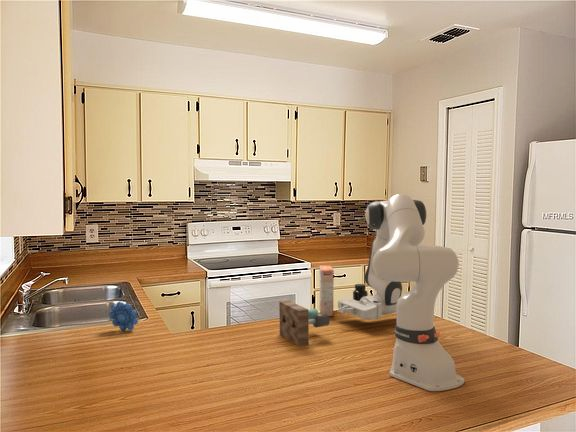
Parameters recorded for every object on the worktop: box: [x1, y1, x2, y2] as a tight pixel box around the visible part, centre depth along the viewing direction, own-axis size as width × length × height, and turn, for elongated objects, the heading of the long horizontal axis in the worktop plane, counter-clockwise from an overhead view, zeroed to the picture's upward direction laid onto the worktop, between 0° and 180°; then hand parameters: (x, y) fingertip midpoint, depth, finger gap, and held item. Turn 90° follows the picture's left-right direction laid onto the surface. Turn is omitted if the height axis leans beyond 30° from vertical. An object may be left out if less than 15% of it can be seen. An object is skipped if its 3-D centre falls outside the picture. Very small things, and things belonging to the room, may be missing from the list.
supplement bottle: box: [352, 283, 369, 301], centre depth 219 cm, size 7×7×12 cm
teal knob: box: [285, 308, 319, 320], centre depth 183 cm, size 5×13×5 cm, turn 117°
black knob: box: [295, 313, 330, 328], centre depth 176 cm, size 5×13×5 cm, turn 117°
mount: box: [278, 300, 310, 347], centre depth 177 cm, size 16×4×13 cm, turn 27°
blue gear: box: [108, 301, 139, 332], centre depth 189 cm, size 12×7×12 cm, turn 91°
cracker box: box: [319, 265, 335, 317], centre depth 215 cm, size 14×6×21 cm, turn 179°
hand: (340, 310), depth 191 cm, fingers closed
